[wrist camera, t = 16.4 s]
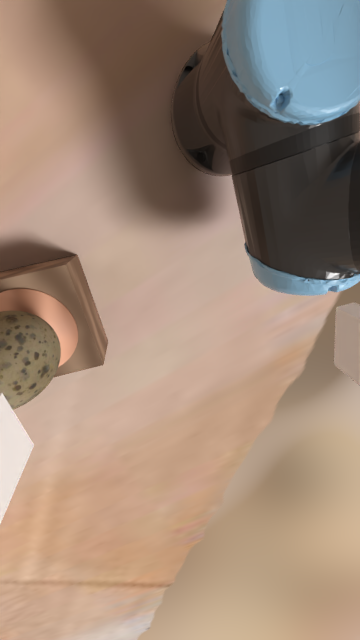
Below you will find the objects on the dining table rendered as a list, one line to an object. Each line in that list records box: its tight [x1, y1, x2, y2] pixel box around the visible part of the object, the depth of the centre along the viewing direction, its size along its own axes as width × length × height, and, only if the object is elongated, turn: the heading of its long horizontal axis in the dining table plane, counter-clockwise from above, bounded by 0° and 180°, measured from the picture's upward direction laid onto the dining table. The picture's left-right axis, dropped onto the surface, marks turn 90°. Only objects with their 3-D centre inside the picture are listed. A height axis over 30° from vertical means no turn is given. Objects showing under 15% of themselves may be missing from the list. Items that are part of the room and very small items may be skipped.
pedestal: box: [0, 255, 108, 377], centre depth 42 cm, size 16×16×8 cm
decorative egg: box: [0, 310, 61, 410], centre depth 31 cm, size 11×11×15 cm
